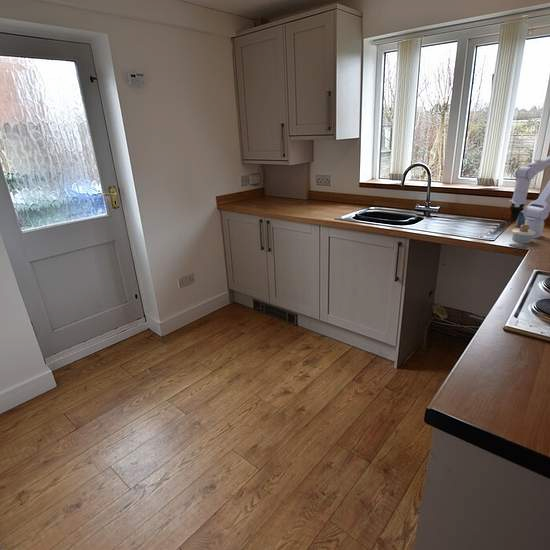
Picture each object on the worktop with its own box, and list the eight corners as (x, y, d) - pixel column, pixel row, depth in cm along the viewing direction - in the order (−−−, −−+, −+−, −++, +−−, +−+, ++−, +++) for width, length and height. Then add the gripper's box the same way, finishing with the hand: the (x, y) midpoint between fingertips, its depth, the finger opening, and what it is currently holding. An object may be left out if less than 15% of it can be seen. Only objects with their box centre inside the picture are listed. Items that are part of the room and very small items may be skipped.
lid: (518, 229, 191) (519, 221, 190) (539, 233, 183) (541, 226, 182) (507, 231, 186) (509, 224, 185) (528, 236, 178) (530, 228, 177)
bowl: (517, 238, 191) (519, 229, 190) (533, 242, 185) (536, 233, 183) (508, 240, 188) (510, 232, 186) (525, 244, 181) (527, 235, 180)
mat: (513, 243, 183) (514, 242, 183) (531, 247, 177) (531, 246, 176) (504, 246, 179) (505, 245, 179) (522, 250, 173) (522, 249, 173)
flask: (514, 226, 213) (518, 208, 209) (515, 225, 215) (519, 207, 211) (533, 229, 208) (538, 210, 204) (534, 228, 210) (539, 209, 206)
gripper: (512, 189, 189) (505, 215, 194) (510, 193, 178) (503, 220, 183) (528, 190, 185) (521, 217, 190) (527, 194, 174) (520, 222, 179)
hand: (514, 219), depth 186 cm, fingers open, 7 cm apart
